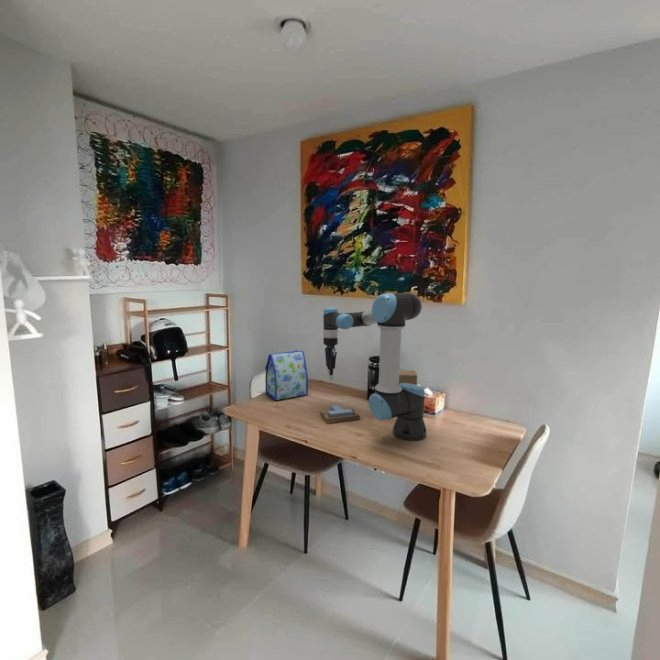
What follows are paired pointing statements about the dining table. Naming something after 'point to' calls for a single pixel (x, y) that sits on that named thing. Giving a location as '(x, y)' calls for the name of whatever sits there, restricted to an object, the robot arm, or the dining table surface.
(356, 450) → the dining table surface
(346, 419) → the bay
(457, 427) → the dining table surface
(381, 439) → the dining table surface
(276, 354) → the lunch bag
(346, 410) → the tee
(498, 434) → the dining table surface
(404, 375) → the wooden block
